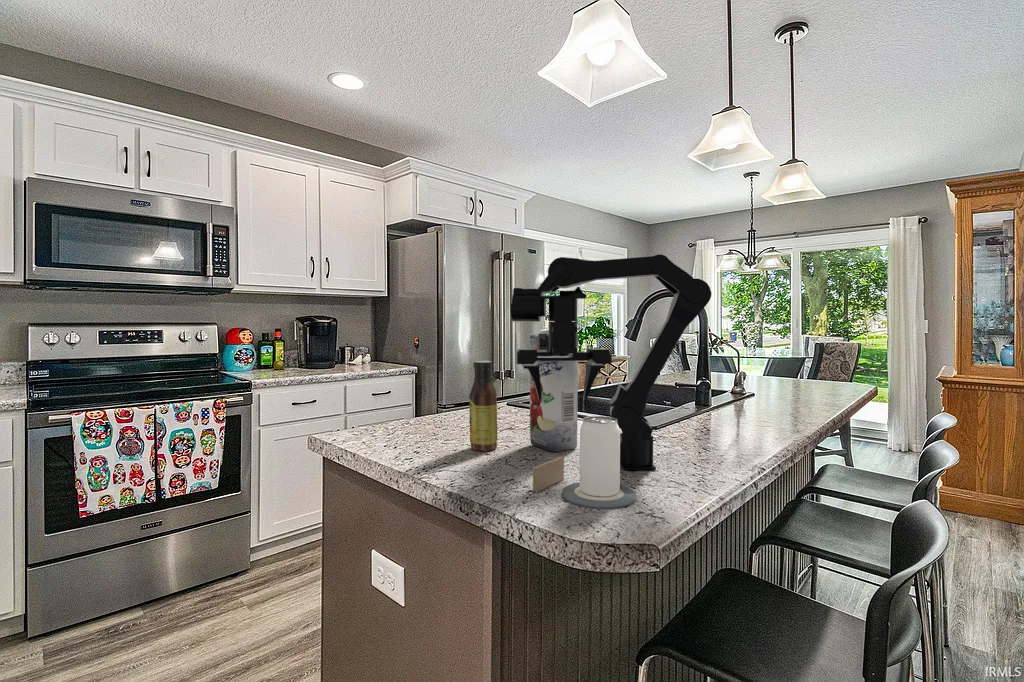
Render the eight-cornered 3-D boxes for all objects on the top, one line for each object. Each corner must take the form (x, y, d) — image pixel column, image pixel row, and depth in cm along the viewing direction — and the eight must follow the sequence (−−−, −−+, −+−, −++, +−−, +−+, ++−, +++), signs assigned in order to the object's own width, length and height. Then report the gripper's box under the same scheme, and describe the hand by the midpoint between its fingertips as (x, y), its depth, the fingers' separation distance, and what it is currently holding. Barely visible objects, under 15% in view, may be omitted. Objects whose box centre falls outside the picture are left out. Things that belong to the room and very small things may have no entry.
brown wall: (560, 478, 95) (560, 456, 95) (563, 479, 95) (563, 457, 95) (533, 491, 88) (532, 467, 88) (536, 492, 88) (536, 468, 87)
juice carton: (556, 440, 126) (556, 328, 125) (583, 449, 117) (583, 329, 116) (524, 444, 122) (524, 328, 121) (550, 454, 113) (550, 329, 112)
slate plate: (625, 483, 92) (625, 480, 92) (646, 507, 80) (646, 503, 80) (557, 484, 91) (557, 481, 91) (568, 509, 79) (568, 505, 79)
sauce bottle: (477, 444, 122) (477, 359, 121) (502, 446, 120) (501, 360, 119) (464, 450, 116) (464, 361, 115) (489, 453, 114) (489, 362, 113)
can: (600, 501, 81) (601, 424, 81) (571, 490, 86) (571, 418, 86) (628, 492, 85) (628, 419, 85) (598, 483, 90) (598, 414, 90)
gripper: (600, 321, 113) (599, 393, 114) (514, 321, 112) (514, 394, 113) (612, 321, 102) (612, 401, 103) (517, 321, 101) (517, 401, 102)
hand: (562, 399), depth 105 cm, fingers open, 9 cm apart
